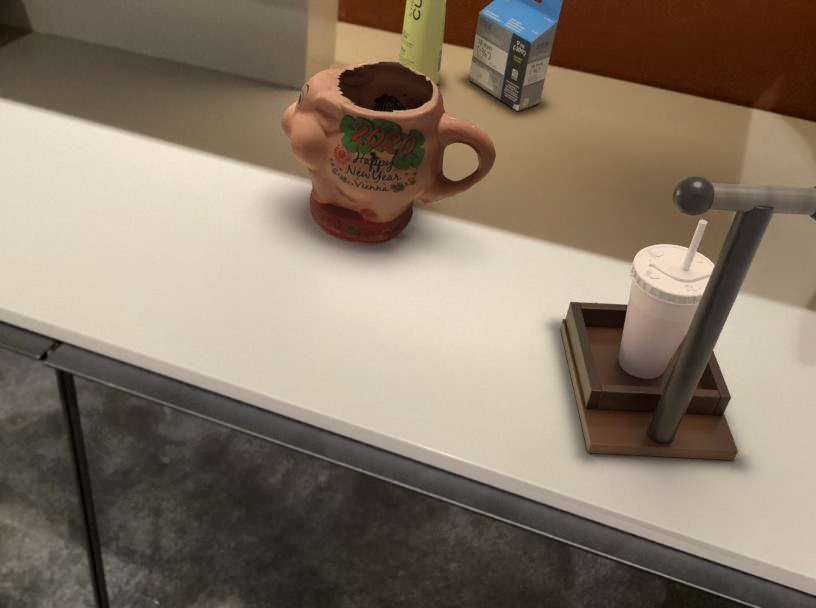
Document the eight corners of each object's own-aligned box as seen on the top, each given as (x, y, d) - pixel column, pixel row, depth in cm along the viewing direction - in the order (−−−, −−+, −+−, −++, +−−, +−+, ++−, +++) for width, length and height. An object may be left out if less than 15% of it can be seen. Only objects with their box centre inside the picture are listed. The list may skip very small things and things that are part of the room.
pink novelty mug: (488, 202, 96) (513, 71, 86) (471, 275, 88) (497, 139, 78) (295, 169, 99) (298, 40, 90) (261, 236, 91) (260, 101, 81)
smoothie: (679, 399, 76) (740, 255, 66) (596, 378, 77) (645, 235, 67) (684, 347, 80) (743, 205, 70) (606, 329, 81) (653, 187, 71)
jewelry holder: (688, 333, 83) (791, 82, 66) (734, 460, 72) (869, 199, 56) (559, 327, 83) (631, 74, 67) (587, 453, 73) (680, 190, 56)
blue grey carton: (466, 80, 114) (482, -25, 106) (491, 72, 116) (509, -32, 107) (516, 112, 109) (538, 5, 101) (542, 104, 111) (565, -3, 102)
